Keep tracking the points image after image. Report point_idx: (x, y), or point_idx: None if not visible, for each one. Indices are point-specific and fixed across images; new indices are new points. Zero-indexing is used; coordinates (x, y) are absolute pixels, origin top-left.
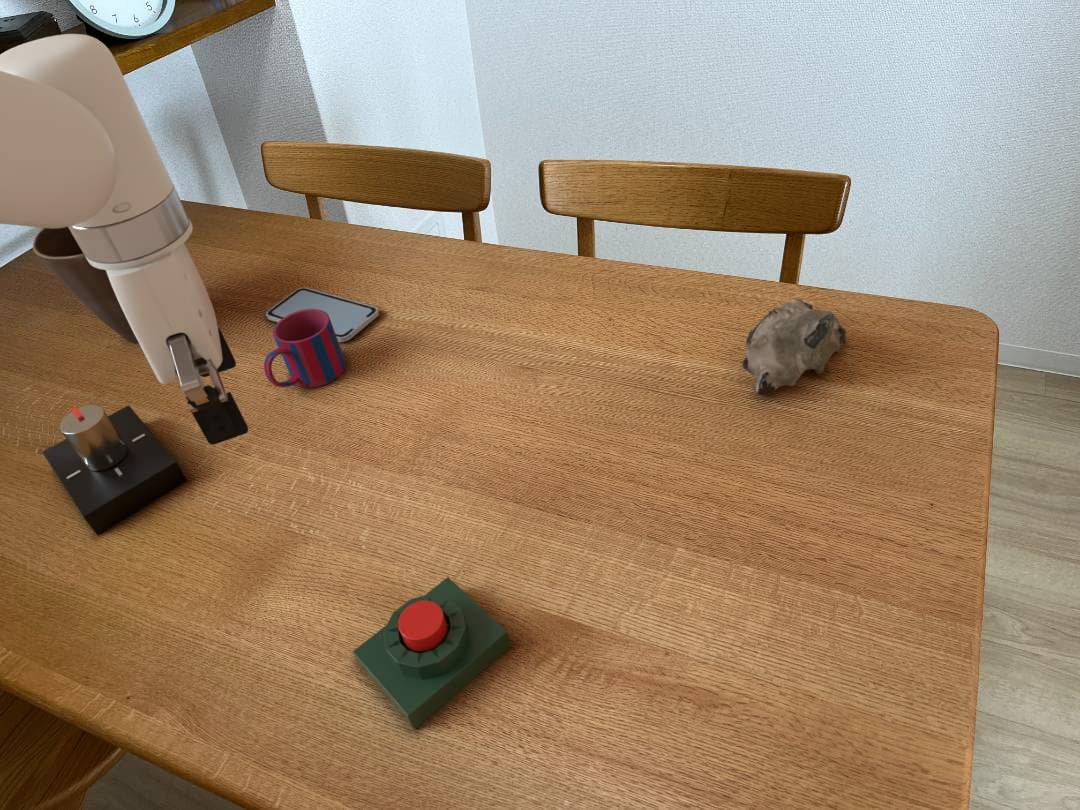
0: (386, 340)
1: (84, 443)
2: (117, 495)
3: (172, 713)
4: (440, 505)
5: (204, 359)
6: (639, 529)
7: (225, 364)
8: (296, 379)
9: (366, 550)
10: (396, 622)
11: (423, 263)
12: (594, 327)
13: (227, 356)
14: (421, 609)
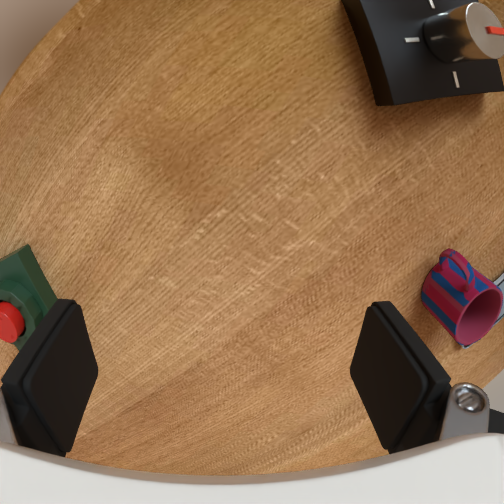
0: (430, 347)
1: (452, 17)
2: (370, 26)
3: (43, 73)
4: (174, 350)
5: (382, 360)
6: (103, 429)
7: (358, 368)
8: (442, 268)
9: (145, 279)
10: (15, 303)
11: (478, 377)
12: (312, 463)
13: (362, 392)
14: (10, 331)
